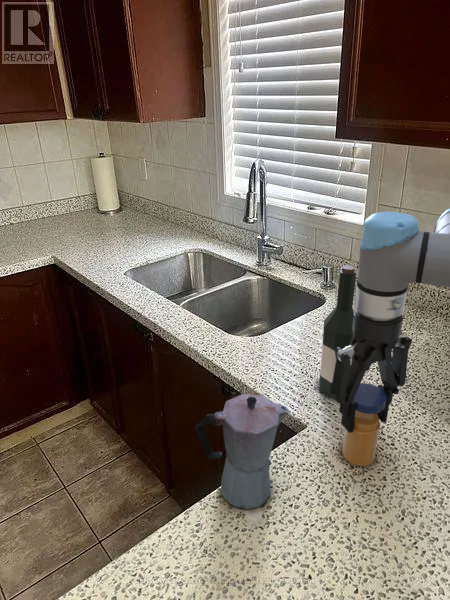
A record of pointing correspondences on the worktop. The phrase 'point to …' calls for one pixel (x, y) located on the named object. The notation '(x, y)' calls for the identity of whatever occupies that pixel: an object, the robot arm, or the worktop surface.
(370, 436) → the jam jar
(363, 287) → the robot arm
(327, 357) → the wine bottle
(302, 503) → the worktop surface
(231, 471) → the moka pot
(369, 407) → the jam lid
